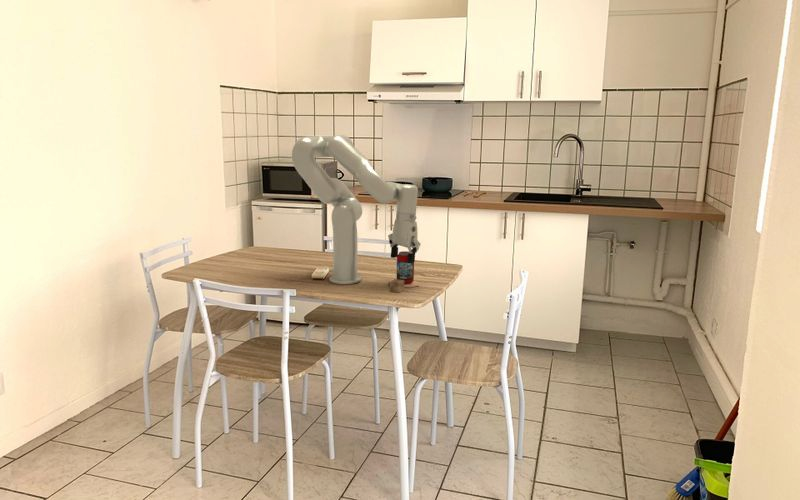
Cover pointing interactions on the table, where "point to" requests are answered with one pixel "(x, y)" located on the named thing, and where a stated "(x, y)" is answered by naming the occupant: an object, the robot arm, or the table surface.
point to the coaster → (411, 284)
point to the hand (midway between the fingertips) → (402, 260)
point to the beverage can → (405, 268)
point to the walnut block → (396, 285)
